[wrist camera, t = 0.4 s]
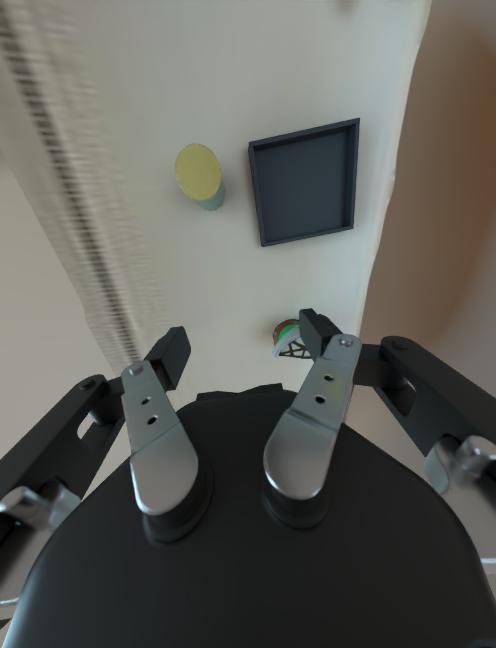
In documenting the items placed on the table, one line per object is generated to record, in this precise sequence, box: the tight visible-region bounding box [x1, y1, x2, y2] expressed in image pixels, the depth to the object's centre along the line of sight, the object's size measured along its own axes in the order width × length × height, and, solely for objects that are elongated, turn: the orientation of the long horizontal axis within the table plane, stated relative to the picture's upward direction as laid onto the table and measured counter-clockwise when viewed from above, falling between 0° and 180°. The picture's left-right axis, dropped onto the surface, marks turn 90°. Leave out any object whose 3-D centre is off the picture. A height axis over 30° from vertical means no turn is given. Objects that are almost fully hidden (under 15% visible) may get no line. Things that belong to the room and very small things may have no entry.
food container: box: [273, 319, 312, 359], centre depth 40 cm, size 12×6×10 cm, turn 83°
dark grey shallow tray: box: [248, 118, 360, 247], centre depth 32 cm, size 15×17×2 cm
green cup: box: [175, 144, 225, 210], centre depth 28 cm, size 6×6×10 cm
